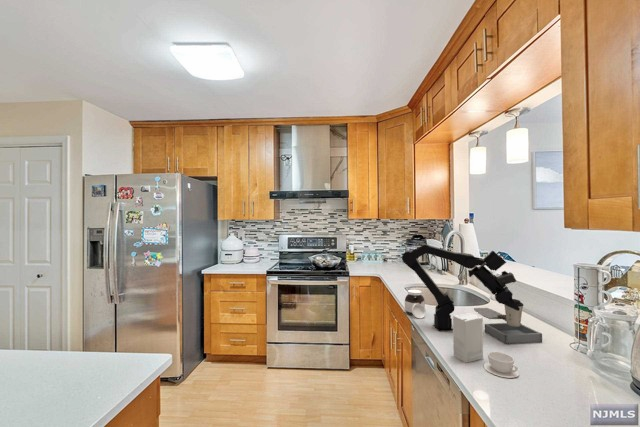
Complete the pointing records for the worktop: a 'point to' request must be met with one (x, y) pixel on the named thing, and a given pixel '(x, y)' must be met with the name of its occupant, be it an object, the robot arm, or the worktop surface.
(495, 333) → the tray
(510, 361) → the teacup
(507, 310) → the coffee cup
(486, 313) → the cleaver
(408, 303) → the spread jar
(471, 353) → the skincare box
